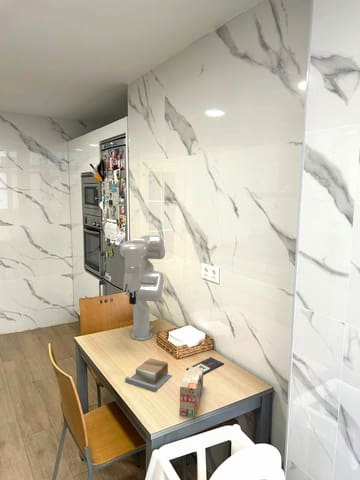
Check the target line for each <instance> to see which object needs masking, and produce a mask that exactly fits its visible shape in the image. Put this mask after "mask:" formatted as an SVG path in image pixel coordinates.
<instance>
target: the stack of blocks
mask: <svg viewBox="0 0 360 480" xmlns="http://www.w3.org/2000/svg"><path fill="white" fill-rule="evenodd" d="M188 368H189V370H185V373H184V375H183V378H182V381H181V382H180V385H179V416H183V417H190V418H196V415H197V412H198V408H199V406H200V405H199V404H200V401H201V400H200V399H201V396H202V393H203V388H204V375H203V368H198V367H191V366H189V367H188Z"/></svg>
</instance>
